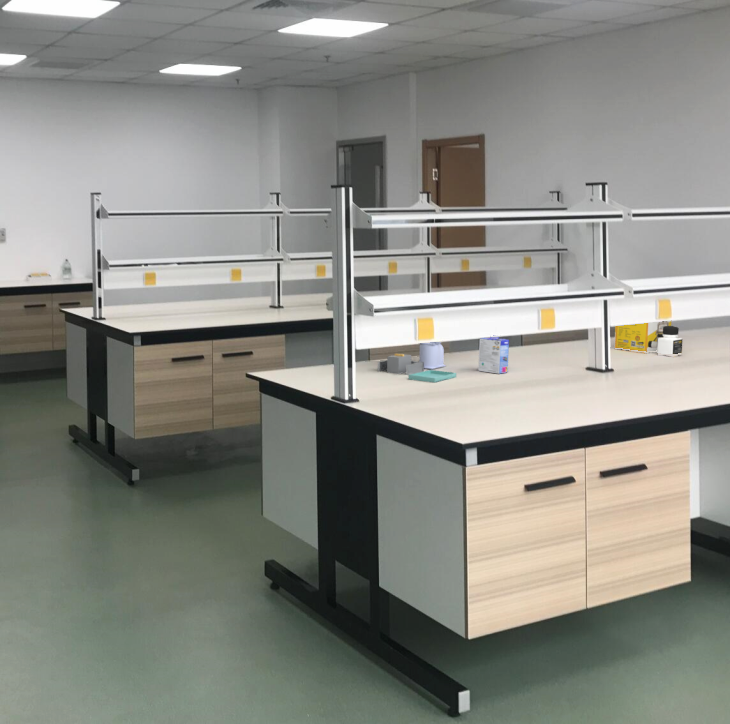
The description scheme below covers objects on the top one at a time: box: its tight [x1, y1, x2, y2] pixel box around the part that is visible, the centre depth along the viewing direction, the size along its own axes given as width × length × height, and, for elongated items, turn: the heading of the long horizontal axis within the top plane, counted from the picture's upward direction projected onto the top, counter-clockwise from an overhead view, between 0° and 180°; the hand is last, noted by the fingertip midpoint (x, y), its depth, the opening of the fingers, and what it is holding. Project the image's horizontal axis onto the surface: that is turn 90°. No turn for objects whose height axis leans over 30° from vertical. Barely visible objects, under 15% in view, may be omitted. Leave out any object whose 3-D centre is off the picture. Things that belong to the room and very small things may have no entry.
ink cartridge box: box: [477, 336, 510, 375], centre depth 351 cm, size 10×6×14 cm, turn 46°
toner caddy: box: [386, 353, 412, 375], centre depth 351 cm, size 8×5×7 cm, turn 143°
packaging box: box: [613, 320, 672, 352], centre depth 408 cm, size 16×16×25 cm
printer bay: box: [377, 359, 425, 376], centre depth 352 cm, size 10×14×4 cm
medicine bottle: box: [656, 325, 683, 354], centre depth 393 cm, size 7×7×12 cm
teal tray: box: [408, 369, 457, 383], centre depth 338 cm, size 14×11×2 cm
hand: (396, 324), depth 344 cm, fingers open, 7 cm apart
